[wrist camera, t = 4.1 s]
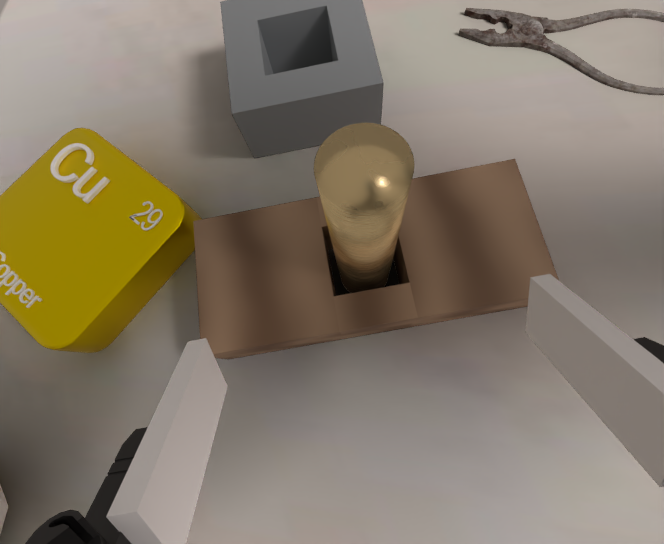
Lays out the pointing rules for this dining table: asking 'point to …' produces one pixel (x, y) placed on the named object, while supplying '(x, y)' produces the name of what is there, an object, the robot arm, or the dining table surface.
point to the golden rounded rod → (364, 199)
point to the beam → (377, 304)
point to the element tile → (87, 243)
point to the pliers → (531, 36)
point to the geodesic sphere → (2, 508)
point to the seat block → (299, 71)
